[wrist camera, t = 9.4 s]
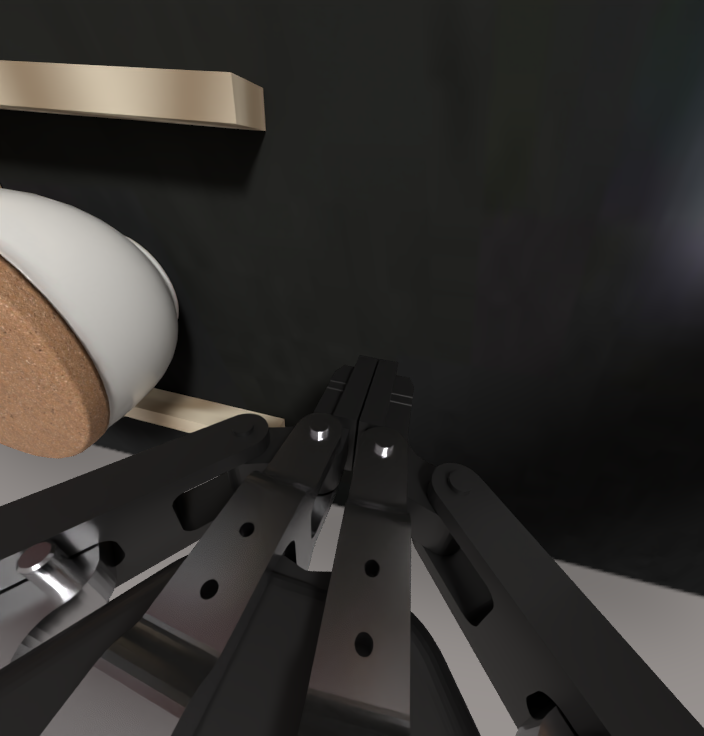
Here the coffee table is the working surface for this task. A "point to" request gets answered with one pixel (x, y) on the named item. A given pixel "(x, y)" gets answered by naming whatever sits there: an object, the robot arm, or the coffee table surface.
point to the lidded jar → (75, 325)
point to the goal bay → (156, 104)
